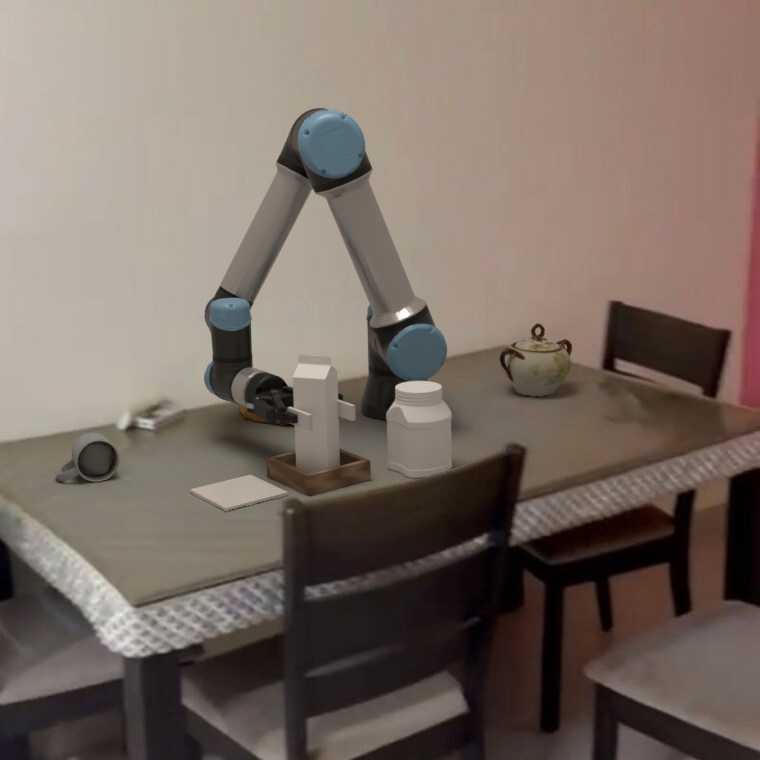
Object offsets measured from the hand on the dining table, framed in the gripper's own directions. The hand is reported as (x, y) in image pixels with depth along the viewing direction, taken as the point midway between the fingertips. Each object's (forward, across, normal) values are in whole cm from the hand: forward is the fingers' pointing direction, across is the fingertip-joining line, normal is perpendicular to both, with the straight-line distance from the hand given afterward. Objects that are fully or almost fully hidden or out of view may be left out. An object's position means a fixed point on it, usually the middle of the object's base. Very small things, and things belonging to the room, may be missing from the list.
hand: (332, 417), depth 212 cm
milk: (-5, 0, -12) cm, 13 cm away
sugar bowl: (-22, -69, -12) cm, 73 cm away
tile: (-7, +15, -12) cm, 20 cm away
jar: (+2, -17, -12) cm, 21 cm away
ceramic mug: (-32, +31, -12) cm, 46 cm away
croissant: (-44, -15, -12) cm, 48 cm away
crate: (-5, 0, -12) cm, 13 cm away
